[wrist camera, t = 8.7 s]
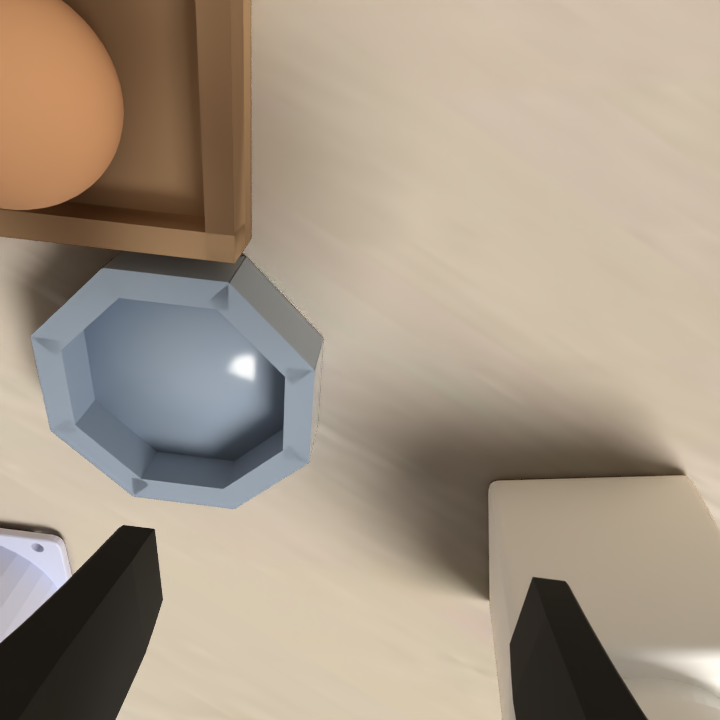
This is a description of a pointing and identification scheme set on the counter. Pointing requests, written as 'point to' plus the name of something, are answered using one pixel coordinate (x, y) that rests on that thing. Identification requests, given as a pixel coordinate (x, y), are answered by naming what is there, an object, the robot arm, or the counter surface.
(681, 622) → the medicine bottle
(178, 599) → the counter surface
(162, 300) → the ramekin
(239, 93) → the tray
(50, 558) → the robot arm
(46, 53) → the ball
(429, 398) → the counter surface
